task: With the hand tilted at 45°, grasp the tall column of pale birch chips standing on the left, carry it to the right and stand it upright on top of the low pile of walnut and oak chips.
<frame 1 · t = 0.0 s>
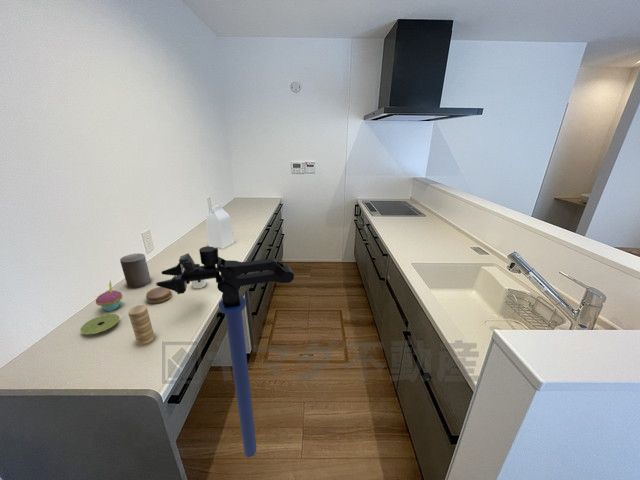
hand: (159, 278, 101), 15 cm above the table, tool horizontal, fingers open, 9 cm apart
cupcake: (112, 308, 108), on the table
chip pile: (159, 298, 115), on the table
pillar candle: (139, 283, 126), on the table
green disc: (102, 327, 97), on the table
chip column: (146, 339, 92), on the table
milk: (221, 244, 174), on the table
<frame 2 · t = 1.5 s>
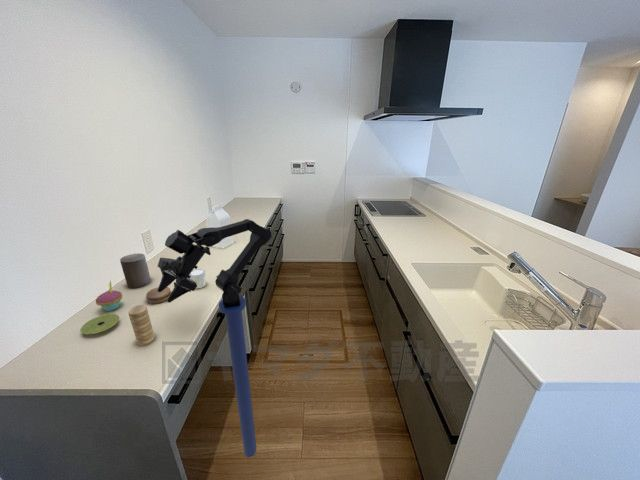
hand: (163, 296, 92), 14 cm above the table, tool tilted 45°, fingers open, 9 cm apart
nothing on the table moved.
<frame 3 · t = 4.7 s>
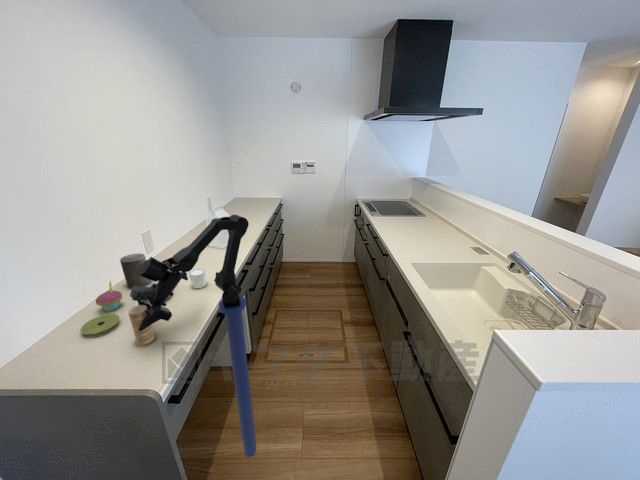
hand: (137, 326, 88), 7 cm above the table, tool tilted 45°, fingers closed on chip column, 5 cm apart
chip column: (146, 339, 92), on the table, touching gripper
everything else where it was.
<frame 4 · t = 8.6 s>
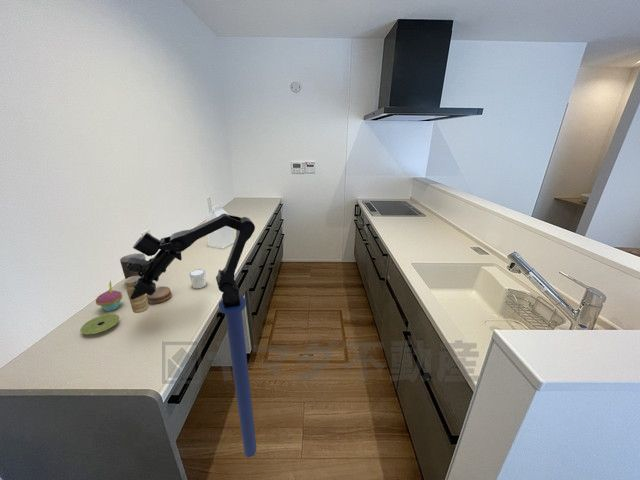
hand: (132, 294, 96), 12 cm above the table, tool tilted 45°, fingers closed on chip column, 5 cm apart
chip column: (141, 308, 99), point 6 cm above the table, touching gripper
everything else where it was.
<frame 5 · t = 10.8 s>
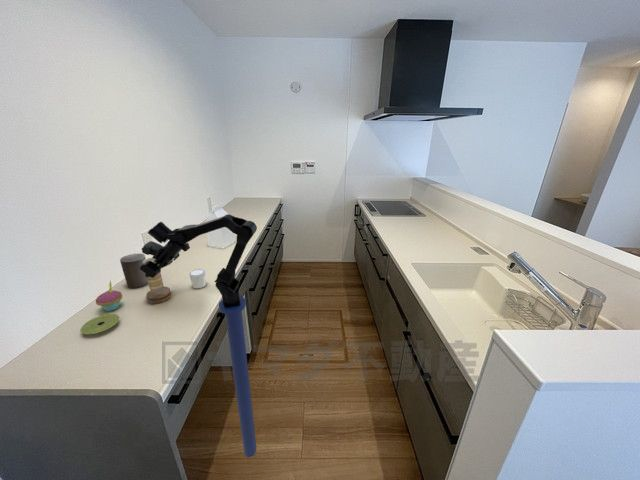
hand: (150, 273, 110), 12 cm above the table, tool tilted 45°, fingers closed on chip column, 5 cm apart
chip column: (156, 287, 113), point 6 cm above the table, touching gripper
everything else where it was.
when the fingers open (10 cm above the table, at t = 12.4 s): chip column stays where it is, resting on chip pile.
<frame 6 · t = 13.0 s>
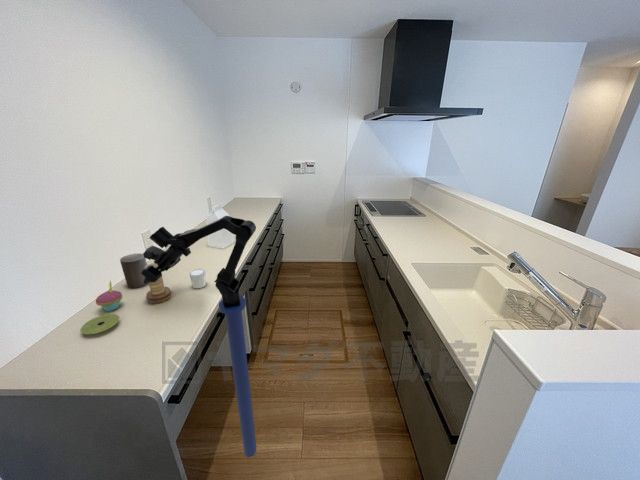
hand: (151, 277, 111), 10 cm above the table, tool tilted 45°, fingers open, 9 cm apart
chip column: (158, 291, 114), point 3 cm above the table, touching chip pile
everything else where it was.
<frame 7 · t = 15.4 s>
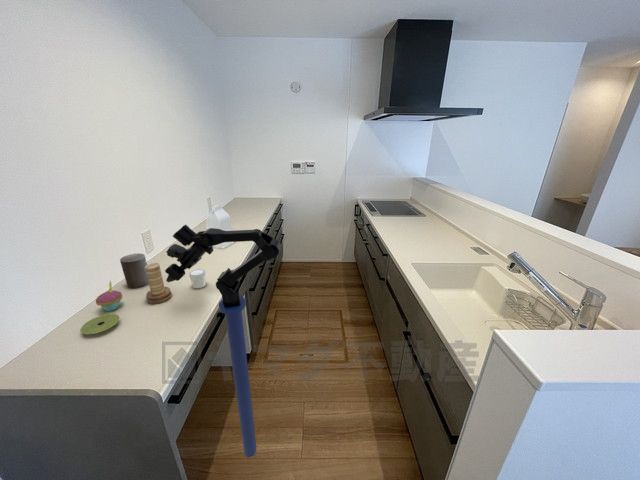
hand: (173, 275, 110), 12 cm above the table, tool tilted 45°, fingers open, 9 cm apart
nothing on the table moved.
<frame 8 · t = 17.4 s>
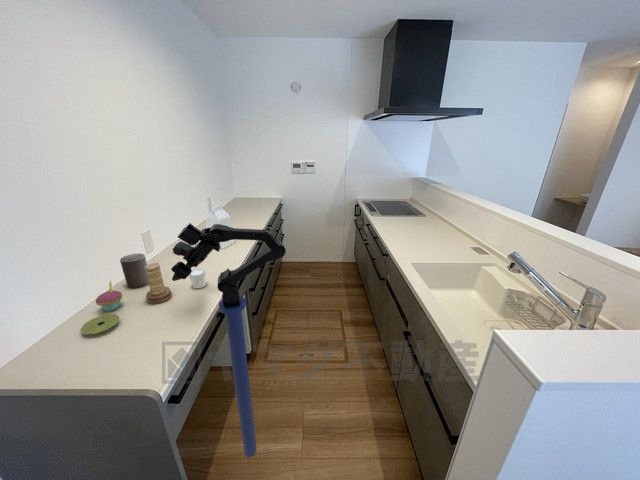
hand: (179, 274, 108), 14 cm above the table, tool tilted 45°, fingers open, 9 cm apart
nothing on the table moved.
at the end: chip column 0.0 cm off-centre on the chip pile, point 3.2 cm above the chip pile's base; chip column tilted 0°; the gripper is holding nothing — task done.
